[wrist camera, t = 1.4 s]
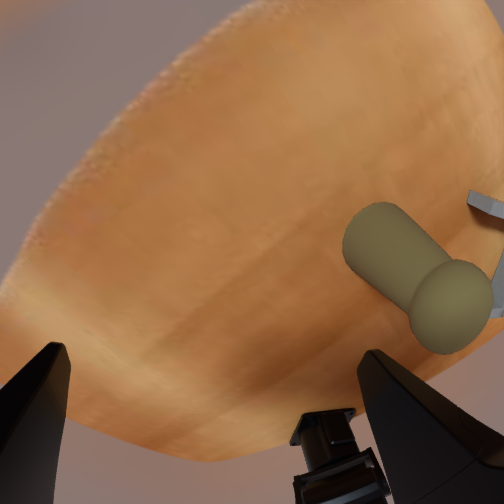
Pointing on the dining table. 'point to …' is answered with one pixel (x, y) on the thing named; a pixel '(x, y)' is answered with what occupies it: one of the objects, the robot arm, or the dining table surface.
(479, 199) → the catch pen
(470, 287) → the olive pawn
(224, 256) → the dining table surface
